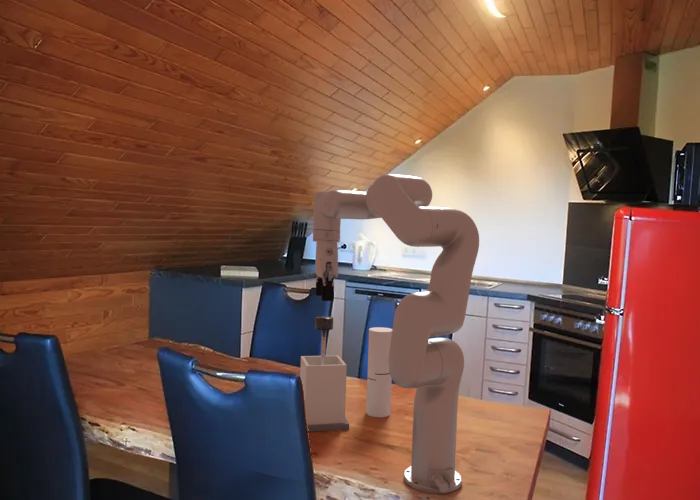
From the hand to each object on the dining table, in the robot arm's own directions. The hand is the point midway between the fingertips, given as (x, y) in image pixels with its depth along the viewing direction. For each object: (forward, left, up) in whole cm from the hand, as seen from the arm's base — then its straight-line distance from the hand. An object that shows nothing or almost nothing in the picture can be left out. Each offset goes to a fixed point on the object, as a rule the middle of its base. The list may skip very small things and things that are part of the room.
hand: (324, 298), depth 157 cm
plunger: (0, 0, -27) cm, 27 cm away
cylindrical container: (+5, -18, -35) cm, 40 cm away
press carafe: (0, 0, -35) cm, 35 cm away
